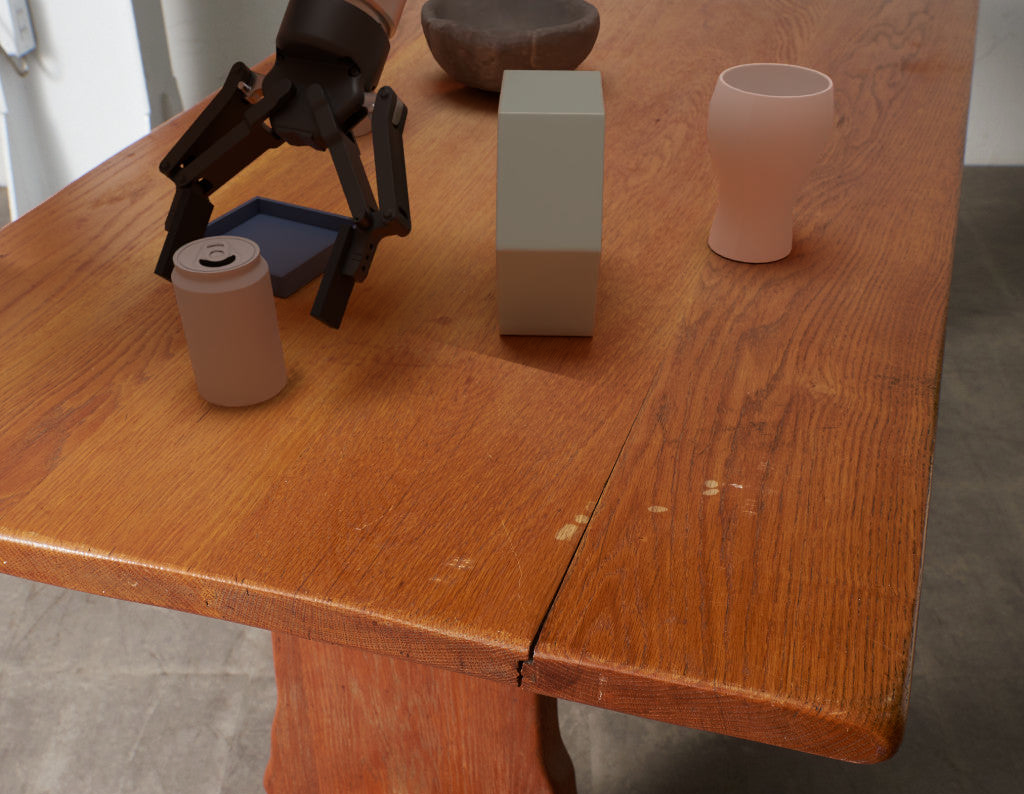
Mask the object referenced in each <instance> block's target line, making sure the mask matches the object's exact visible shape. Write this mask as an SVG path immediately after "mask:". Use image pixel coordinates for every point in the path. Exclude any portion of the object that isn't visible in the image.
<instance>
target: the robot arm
mask: <svg viewBox="0 0 1024 794" xmlns="http://www.w3.org/2000/svg"><path fill="white" fill-rule="evenodd" d="M406 3H407V0H288V3H287V5H286V9H285V11H284V14H283V17H282V20H281V24H280V26H279V28H278V31H277V34H276V37H275V61H274V64H273V66H272V67H271V68H270V70H269V71H267V73H266V74H263V73H260V72H257V71H254V70H251V68H250V67H248V66H247V65H246V63H245V62H243V61H236V62H235V63H233V65H232V66H231V68H230V70H229V72H228V74H227V77H226V79H225V81H224V83H223V86H222V88H221V89H220V90H219V91H218V92H217V93H216V94H215V96H214V97H213V99H211V101H210V102H209V103H208V104H207V105H206V107H205V108H204V109H203V111H202V112H201V113H200V114H199V115H198V117H197V118H196V119H195V120H194V121H193V122H192V124H191V125H190V126H189V127H188V129H186V131H185V132H184V133H183V134H182V136H181V137H180V138H179V139H178V141H176V143H175V144H174V145H173V146H172V148H171V149H170V150H169V152H167V154H165V156H164V157H163V159H162V160H161V161H160V162H159V165H158V171H159V172H160V173H161V174H162V175H163V176H165V177H166V178H167V179H169V180H170V181H171V182H173V183H174V185H175V192H174V195H173V198H172V201H171V203H170V207H169V210H168V212H167V216H166V218H165V220H164V231H166V232H167V234H166V236H165V240H164V243H163V245H162V247H161V251H160V254H159V256H158V259H157V262H156V265H155V268H154V271H153V274H154V275H157V276H158V277H160V278H162V279H163V280H165V281H167V282H169V283H171V284H172V285H173V283H172V279H171V275H172V271H173V269H174V267H175V265H174V262H173V256H174V254H175V252H176V251H177V250H178V249H179V248H181V247H182V246H184V245H186V244H188V243H190V242H193V241H196V240H199V239H203V237H204V234H205V232H206V229H207V226H208V223H209V222H210V221H211V217H212V214H213V212H214V209H215V204H213V203H212V202H211V199H210V196H212V195H213V194H214V193H215V192H217V191H218V190H219V189H220V188H222V187H223V186H224V185H225V184H227V183H228V182H229V181H230V180H232V179H233V178H235V176H237V175H238V174H239V173H241V172H242V171H243V170H244V169H245V168H247V167H248V166H249V165H251V164H252V163H253V162H255V161H257V159H258V158H260V157H261V156H262V155H263V154H265V153H266V152H267V151H268V150H276V149H279V148H280V147H281V146H282V145H284V144H286V143H287V144H288V145H289V146H292V147H310V148H311V149H314V150H315V151H319V152H324V153H325V152H326V150H327V149H328V151H329V153H330V157H331V160H332V163H333V165H334V168H335V171H336V174H337V177H338V180H339V183H340V185H341V189H342V192H343V194H344V197H345V199H346V201H347V203H346V204H347V206H348V209H349V211H350V214H351V216H349V217H350V218H349V219H350V220H351V221H352V222H353V223H354V224H355V225H356V227H355V229H354V228H353V227H352V226H351V225H347V224H342V223H341V226H340V229H339V231H338V234H337V237H336V240H335V243H334V246H333V249H332V252H331V255H330V257H329V260H328V263H327V266H326V269H325V271H324V272H323V275H322V277H321V281H320V283H319V287H318V289H317V293H316V295H315V298H314V301H313V304H312V307H311V310H310V313H309V316H311V317H313V318H314V319H315V320H317V321H319V322H320V323H322V324H323V325H325V326H326V327H328V328H330V329H333V330H337V331H340V327H341V324H342V322H343V318H344V315H345V313H346V310H347V308H348V304H349V302H350V298H351V295H352V293H353V290H354V286H355V284H356V283H358V284H363V283H364V282H365V280H366V279H367V278H368V275H369V272H370V269H371V266H372V263H373V261H374V257H375V255H376V252H377V249H378V246H379V244H380V242H381V241H382V240H384V238H386V237H392V236H397V237H400V238H406V237H408V236H409V235H410V234H411V232H412V226H413V225H412V217H411V207H410V198H409V188H408V177H407V176H408V175H407V169H406V167H407V166H406V158H405V157H406V156H405V148H404V137H403V134H404V131H405V126H406V121H407V118H408V113H409V109H408V106H407V104H405V102H404V101H403V100H402V99H401V97H400V96H399V95H398V94H397V93H396V91H395V90H394V89H393V88H392V87H391V86H390V85H383V86H381V87H380V88H379V89H378V90H377V92H375V93H372V92H373V91H374V90H375V91H376V89H377V88H378V86H379V82H380V79H381V77H382V74H383V71H384V68H385V65H386V63H387V60H388V57H389V54H390V52H391V42H390V40H391V39H393V38H394V36H395V35H396V33H397V29H398V26H399V23H400V21H401V18H402V16H403V12H404V9H405V6H406ZM367 116H368V117H369V119H370V120H371V121H372V122H371V126H372V130H371V138H372V147H373V148H372V149H373V159H374V169H375V179H376V190H377V191H376V192H377V201H378V203H377V201H376V197H375V195H374V191H373V190H372V187H371V184H370V181H369V178H368V175H367V173H366V170H365V166H364V164H363V161H362V159H361V155H362V153H361V150H360V147H359V144H358V142H357V138H356V137H355V136H354V133H353V130H352V129H354V128H355V127H356V126H357V125H358V124H359V123H360V122H361V121H363V120H364V119H365V118H366V117H367ZM267 120H268V121H269V124H270V126H269V125H268V124H267V123H266V122H265V121H267ZM351 217H352V218H353V219H352V218H351Z"/></svg>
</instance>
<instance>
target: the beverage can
mask: <svg viewBox="0 0 1024 794" xmlns="http://www.w3.org/2000/svg"><path fill="white" fill-rule="evenodd" d="M173 262H174V265H175V267H174V269H173V271H172V275H171V279H172V283H173V284H172V283H171V284H172V287H173V291H174V295H175V299H176V300H175V301H176V305H177V309H178V312H179V316H180V321H181V325H182V329H183V333H184V334H183V335H184V337H185V341H186V342H185V343H186V346H187V350H188V354H189V359H190V362H191V367H192V371H193V375H194V381H195V384H196V388H197V392H198V394H199V396H200V397H201V398H202V399H203V400H204V401H205V402H208V403H210V404H213V405H216V406H222V407H228V408H229V407H230V408H231V407H232V408H233V407H234V408H235V407H237V408H238V407H246V406H251V405H252V406H253V405H256V404H260V403H263V402H265V401H268V400H269V399H272V398H273V397H274V396H276V395H277V394H280V392H281V391H282V390H283V389H285V386H286V385H287V381H288V373H287V368H286V362H285V357H284V356H285V355H284V350H283V344H282V339H281V338H282V337H281V331H280V327H279V320H278V315H277V309H276V302H275V295H273V291H272V285H271V279H270V273H269V267H268V264H267V262H266V260H265V259H264V258H263V257H262V256H261V255H260V249H259V246H258V245H257V244H256V243H255V242H253V241H252V240H249V239H247V238H243V237H237V236H214V237H207V238H203V239H199V240H196V241H193V242H190V243H188V244H186V245H184V246H182V247H181V248H179V249H178V250H177V251H176V252H175V254H174V256H173Z"/></svg>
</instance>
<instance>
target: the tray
mask: <svg viewBox="0 0 1024 794" xmlns="http://www.w3.org/2000/svg"><path fill="white" fill-rule="evenodd" d="M350 217H351V218H352V219H353V217H352V216H347V215H344V214H340V213H339V214H338V213H335V212H330V211H325V210H321V209H317V208H313V207H308V206H304V205H299V204H295V203H290V202H285V201H281V200H278V199H272V198H269V197H263V196H259V195H256V196H253V197H252V198H250V199H248V200H246V201H245V202H243V203H241V204H239V205H238V206H236V207H234V208H232V209H231V210H229V211H227V212H225V213H224V214H222V215H220V216H218V217H216V218H214V219H213V220H210V221H209V223H208V226H207V229H206V232H205V234H204V237H203V238H207V237H214V236H237V237H243V238H247V239H249V240H252V241H253V242H255V243H256V244H257V245H258V246H259V249H260V255H261V256H262V257H263V258H264V259H265V260H266V262H267V264H268V267H269V273H270V279H271V285H272V291H273V296H274V297H278V298H279V297H280V298H284V299H287V298H288V297H290V296H291V295H292V294H294V293H295V292H297V291H298V290H300V289H301V288H303V287H304V286H305V285H307V284H308V283H309V282H312V280H314V279H316V278H317V277H318V276H320V275H321V274H324V272H325V269H326V266H327V263H328V260H329V257H330V255H331V252H332V249H333V246H334V243H335V240H336V237H337V234H338V231H339V229H340V226H341V223H342V224H347V225H351V226H352V227H353V228H354V229H355V227H356V225H355V224H354V223H353V222H352V221H351V220H350V219H349V218H350Z"/></svg>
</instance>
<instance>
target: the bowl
mask: <svg viewBox="0 0 1024 794" xmlns="http://www.w3.org/2000/svg"><path fill="white" fill-rule="evenodd" d="M420 23H421V28H422V32H423V35H424V38H425V42H426V45H427V46H428V49H429V51H430V53H431V55H432V58H433V59H434V60H435V62H436V63H437V65H438V66H439V67H440V68H441V69H443V71H444V72H445V73H446V74H447V75H448V76H449V77H450V78H452V79H453V80H455V81H456V82H458V83H460V84H462V85H464V86H467V87H470V88H474V89H479V90H481V91H487V92H492V93H501V86H502V79H503V72H504V70H557V71H576V69H577V68H578V67H580V65H582V64H583V62H584V61H585V60H586V59H587V58H588V57H589V55H590V54H591V52H592V51H593V49H594V46H595V45H596V41H597V39H598V36H599V33H600V28H601V16H600V12H599V10H598V8H597V7H596V6H595V5H594V4H592V3H590V2H588V1H587V0H427V1H425V2H424V4H423V5H422V7H421V11H420Z"/></svg>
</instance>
